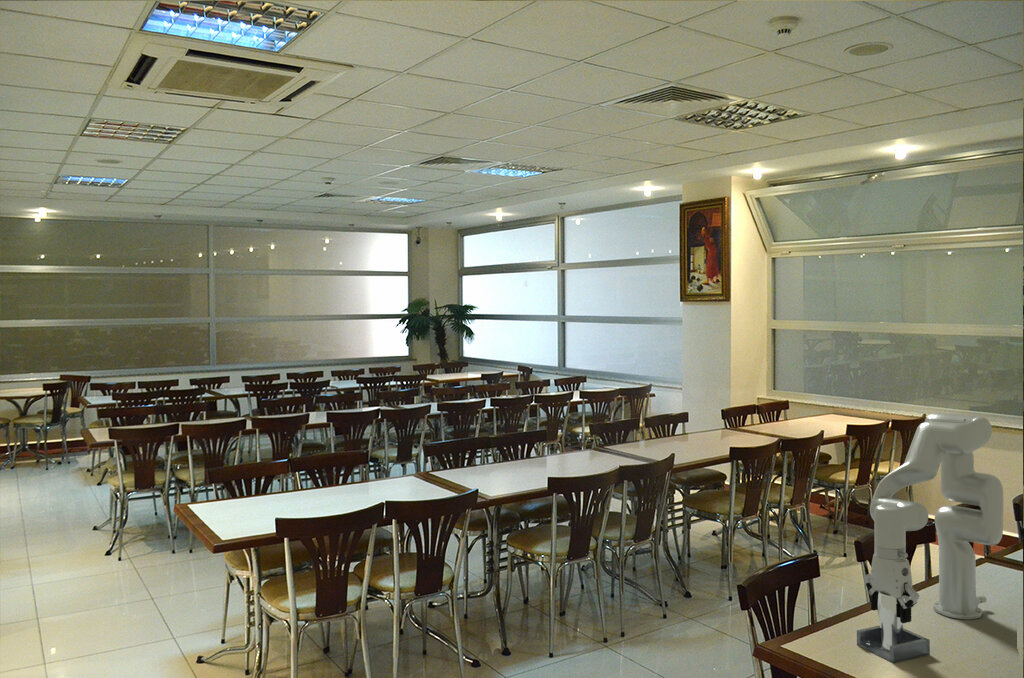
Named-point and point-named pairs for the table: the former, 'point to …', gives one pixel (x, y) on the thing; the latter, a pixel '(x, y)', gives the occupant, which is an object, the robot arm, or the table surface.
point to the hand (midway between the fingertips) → (890, 615)
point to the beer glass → (889, 621)
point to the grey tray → (898, 653)
